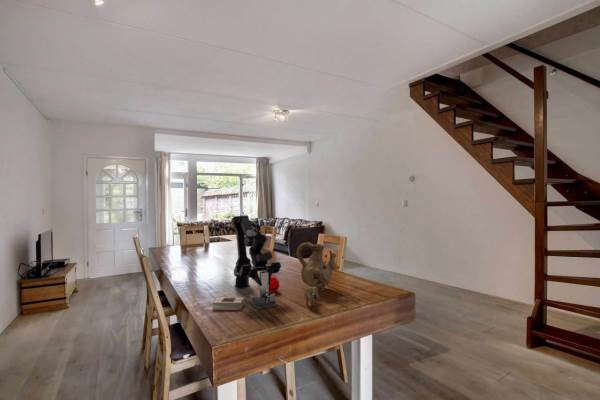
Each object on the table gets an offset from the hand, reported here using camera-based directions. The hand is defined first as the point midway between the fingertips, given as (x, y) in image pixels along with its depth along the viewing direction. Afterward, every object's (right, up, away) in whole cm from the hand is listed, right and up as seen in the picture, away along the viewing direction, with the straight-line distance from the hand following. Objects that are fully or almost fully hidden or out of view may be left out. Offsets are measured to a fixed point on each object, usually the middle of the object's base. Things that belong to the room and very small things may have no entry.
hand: (265, 285), depth 136 cm
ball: (0, -10, +21) cm, 23 cm away
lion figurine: (+21, -9, +2) cm, 23 cm away
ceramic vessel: (+25, -10, +24) cm, 36 cm away
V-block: (-1, -9, +2) cm, 9 cm away
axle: (-1, -7, +1) cm, 7 cm away
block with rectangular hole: (-16, -9, -2) cm, 18 cm away
